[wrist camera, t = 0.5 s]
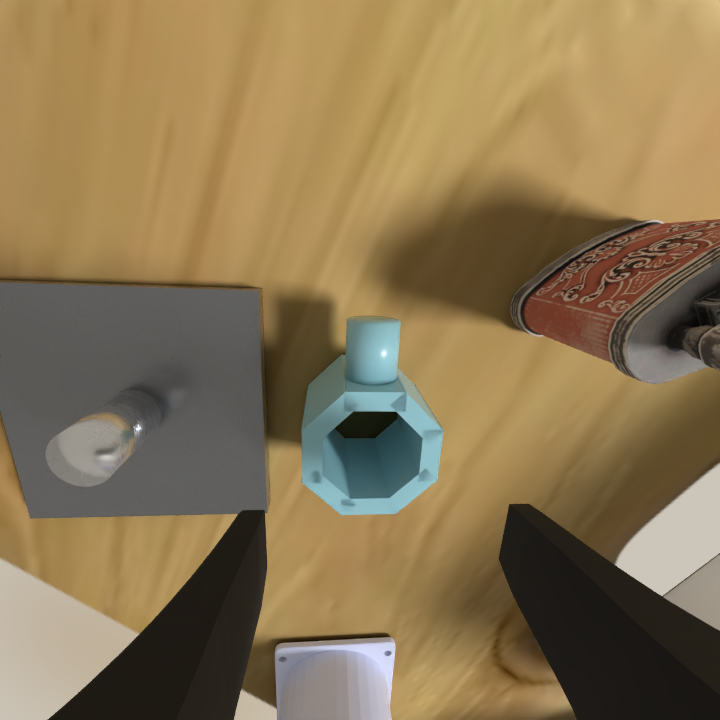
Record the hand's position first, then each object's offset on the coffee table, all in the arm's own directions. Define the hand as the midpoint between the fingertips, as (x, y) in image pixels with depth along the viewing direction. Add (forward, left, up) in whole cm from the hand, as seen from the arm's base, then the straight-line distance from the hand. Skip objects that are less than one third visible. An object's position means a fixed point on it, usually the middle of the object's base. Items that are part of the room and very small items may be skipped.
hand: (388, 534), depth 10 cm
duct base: (0, +11, -9) cm, 14 cm away
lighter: (+7, -11, -9) cm, 16 cm away
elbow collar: (+1, 0, -9) cm, 9 cm away
